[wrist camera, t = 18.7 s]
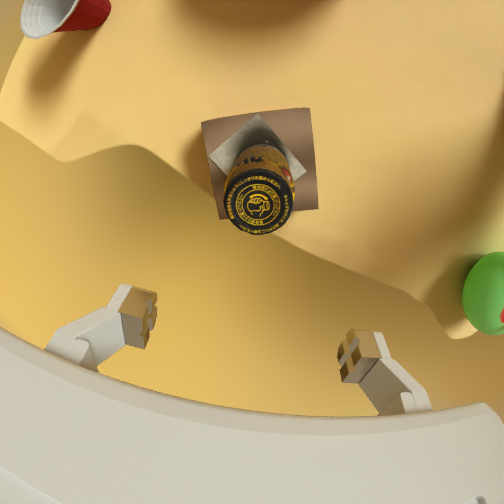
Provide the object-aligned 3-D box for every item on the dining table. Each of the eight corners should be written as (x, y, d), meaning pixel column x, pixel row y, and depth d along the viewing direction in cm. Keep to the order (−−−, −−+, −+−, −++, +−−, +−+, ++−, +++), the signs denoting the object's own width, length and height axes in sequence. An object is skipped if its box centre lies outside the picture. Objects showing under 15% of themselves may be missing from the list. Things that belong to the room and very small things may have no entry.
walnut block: (211, 119, 34) (200, 122, 29) (303, 107, 33) (309, 108, 27) (226, 202, 40) (219, 219, 34) (311, 193, 38) (318, 208, 33)
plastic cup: (67, 55, 28) (14, 52, 17) (70, 1, 22) (22, -12, 12) (126, 32, 27) (78, 16, 16) (128, -24, 22) (87, -50, 11)
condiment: (257, 208, 34) (252, 261, 23) (208, 155, 31) (177, 184, 20) (306, 171, 31) (326, 207, 20) (257, 113, 28) (252, 117, 18)
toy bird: (436, 289, 45) (471, 343, 32) (486, 218, 37) (535, 260, 24) (476, 314, 48) (504, 358, 35) (518, 256, 40) (555, 295, 27)
